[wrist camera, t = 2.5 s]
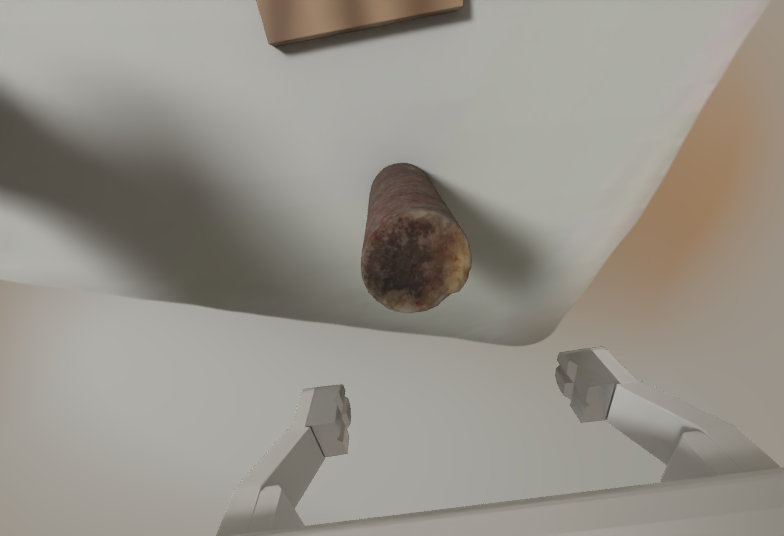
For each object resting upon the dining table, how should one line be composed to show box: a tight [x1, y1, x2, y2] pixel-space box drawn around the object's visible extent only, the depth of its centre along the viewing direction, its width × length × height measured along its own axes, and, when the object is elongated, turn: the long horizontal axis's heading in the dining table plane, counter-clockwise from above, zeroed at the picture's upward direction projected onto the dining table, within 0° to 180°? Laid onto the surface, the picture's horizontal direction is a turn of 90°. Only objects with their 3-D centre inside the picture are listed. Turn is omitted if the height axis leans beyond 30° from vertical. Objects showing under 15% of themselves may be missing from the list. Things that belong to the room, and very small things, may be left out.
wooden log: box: [361, 163, 472, 313], centre depth 27 cm, size 8×7×20 cm
